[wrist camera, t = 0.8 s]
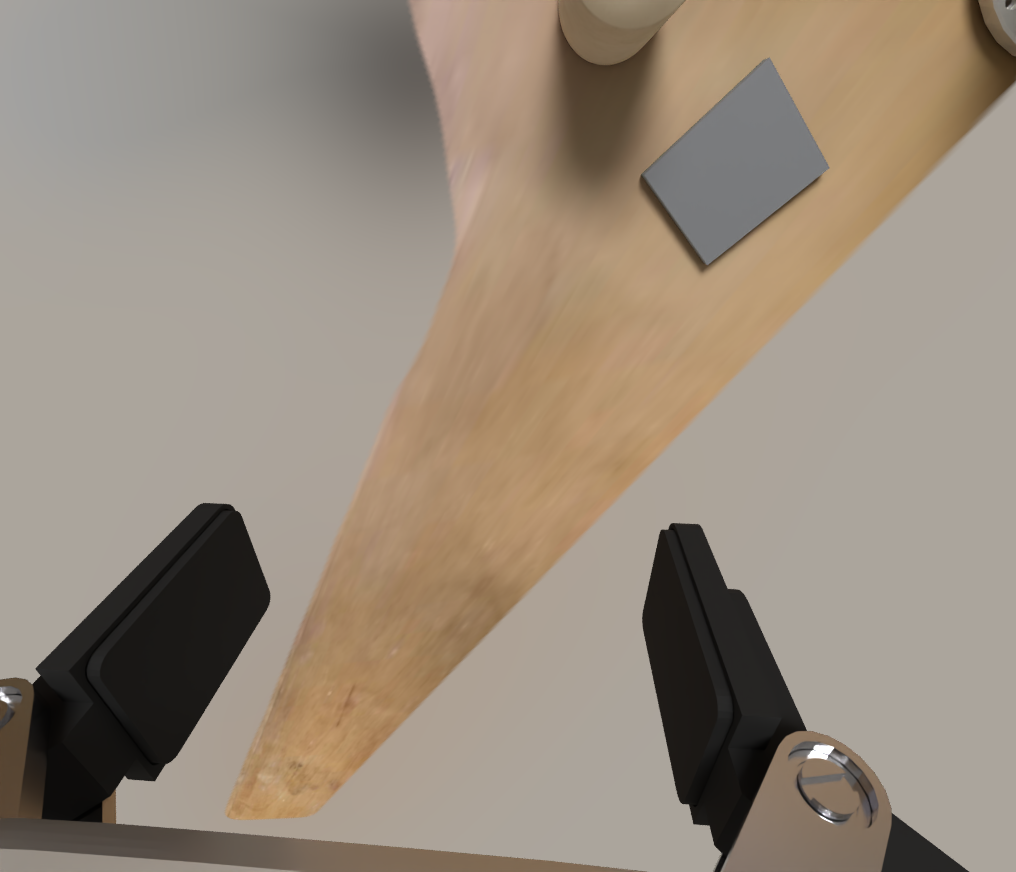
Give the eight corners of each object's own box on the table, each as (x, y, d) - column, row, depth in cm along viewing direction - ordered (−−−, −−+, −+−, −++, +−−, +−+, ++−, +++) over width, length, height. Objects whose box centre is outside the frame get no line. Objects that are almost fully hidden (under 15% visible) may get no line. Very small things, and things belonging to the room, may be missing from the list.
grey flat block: (763, 60, 26) (769, 57, 25) (822, 167, 28) (829, 167, 27) (641, 174, 29) (643, 174, 28) (703, 263, 31) (707, 265, 30)
